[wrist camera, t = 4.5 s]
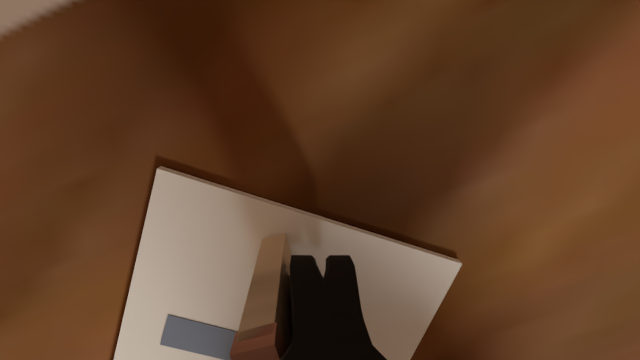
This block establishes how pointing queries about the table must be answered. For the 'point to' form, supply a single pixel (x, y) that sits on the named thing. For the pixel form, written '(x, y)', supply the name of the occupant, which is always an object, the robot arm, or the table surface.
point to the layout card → (238, 266)
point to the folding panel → (266, 305)
